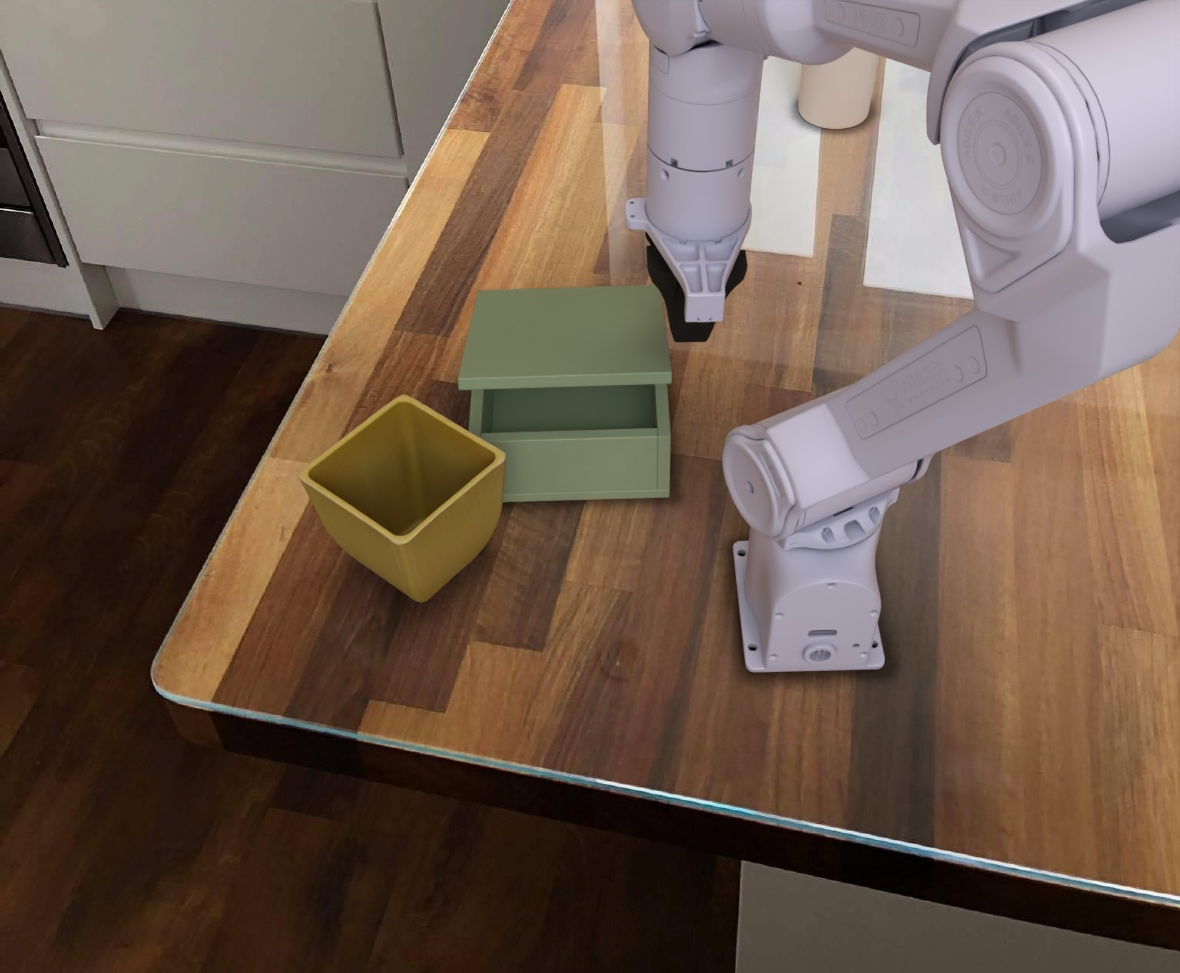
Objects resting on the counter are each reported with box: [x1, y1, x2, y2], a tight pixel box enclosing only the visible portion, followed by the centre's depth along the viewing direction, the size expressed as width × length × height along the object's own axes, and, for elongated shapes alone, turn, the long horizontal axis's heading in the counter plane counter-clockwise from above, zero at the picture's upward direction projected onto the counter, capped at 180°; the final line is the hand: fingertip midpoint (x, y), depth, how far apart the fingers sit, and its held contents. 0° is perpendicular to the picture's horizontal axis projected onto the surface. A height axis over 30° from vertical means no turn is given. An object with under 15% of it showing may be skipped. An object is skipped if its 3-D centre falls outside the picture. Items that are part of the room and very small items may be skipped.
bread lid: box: [457, 284, 673, 391], centre depth 78 cm, size 14×13×1 cm
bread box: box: [467, 384, 672, 503], centre depth 82 cm, size 14×13×6 cm
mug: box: [798, 47, 880, 130], centre depth 106 cm, size 10×7×12 cm, turn 153°
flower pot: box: [297, 393, 506, 604], centre depth 74 cm, size 9×9×9 cm
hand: (689, 330), depth 75 cm, fingers closed
